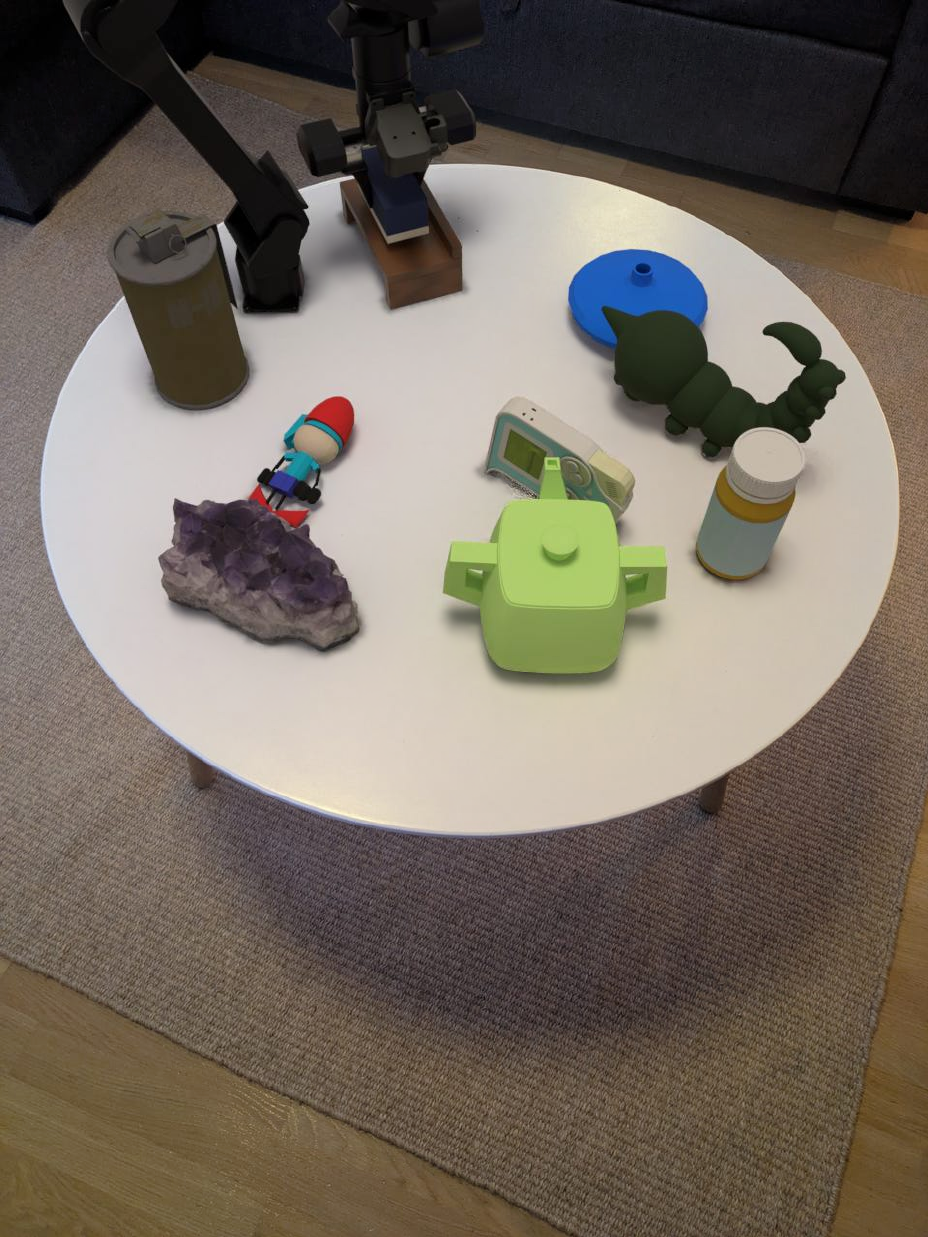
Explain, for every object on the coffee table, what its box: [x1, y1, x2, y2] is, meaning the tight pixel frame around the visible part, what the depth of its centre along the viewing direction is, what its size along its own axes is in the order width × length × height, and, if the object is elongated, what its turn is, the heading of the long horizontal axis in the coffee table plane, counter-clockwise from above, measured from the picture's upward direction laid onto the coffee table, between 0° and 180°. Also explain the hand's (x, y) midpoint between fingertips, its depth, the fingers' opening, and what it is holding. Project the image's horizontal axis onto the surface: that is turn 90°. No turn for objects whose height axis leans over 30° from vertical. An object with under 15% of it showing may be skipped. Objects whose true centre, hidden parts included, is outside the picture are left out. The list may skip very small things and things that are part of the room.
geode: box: [157, 497, 360, 651], centre depth 93 cm, size 20×12×10 cm, turn 65°
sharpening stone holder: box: [339, 177, 463, 311], centre depth 119 cm, size 9×18×6 cm, turn 21°
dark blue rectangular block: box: [358, 146, 429, 244], centre depth 114 cm, size 11×5×4 cm, turn 21°
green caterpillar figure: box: [602, 306, 847, 458], centre depth 100 cm, size 9×19×25 cm
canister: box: [106, 208, 250, 410], centre depth 103 cm, size 11×10×20 cm
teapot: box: [442, 457, 668, 674], centre depth 91 cm, size 18×20×13 cm
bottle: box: [695, 427, 806, 580], centre depth 92 cm, size 7×7×15 cm
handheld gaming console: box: [483, 396, 636, 525], centre depth 98 cm, size 11×3×15 cm
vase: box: [567, 248, 709, 350], centre depth 113 cm, size 16×16×7 cm
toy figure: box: [248, 395, 355, 528], centre depth 103 cm, size 8×5×15 cm
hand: (392, 200), depth 115 cm, fingers closed on dark blue rectangular block, 5 cm apart
